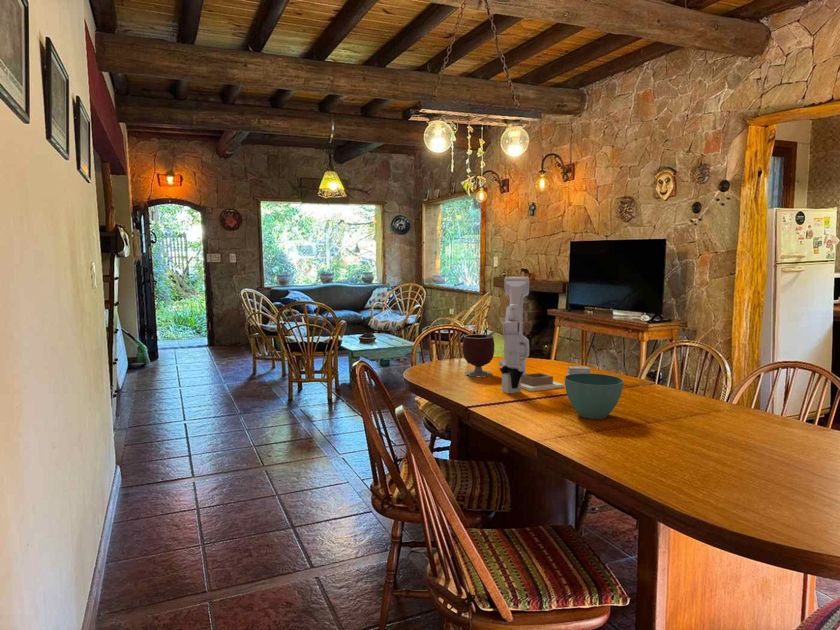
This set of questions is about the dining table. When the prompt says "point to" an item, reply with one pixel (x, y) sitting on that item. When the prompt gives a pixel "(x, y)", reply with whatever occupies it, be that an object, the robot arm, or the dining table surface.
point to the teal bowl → (593, 393)
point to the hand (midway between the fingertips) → (511, 386)
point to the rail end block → (509, 384)
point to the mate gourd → (478, 352)
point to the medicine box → (578, 370)
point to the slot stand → (539, 382)
